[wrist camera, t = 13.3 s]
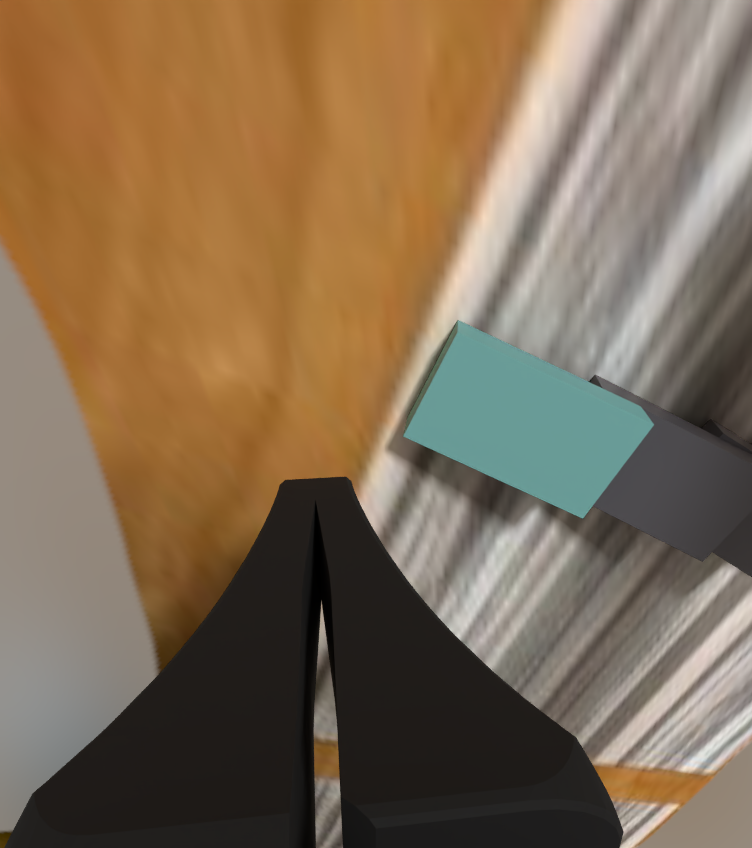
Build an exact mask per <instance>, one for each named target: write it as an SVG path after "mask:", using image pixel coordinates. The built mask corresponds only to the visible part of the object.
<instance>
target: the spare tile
mask: <svg viewBox="0 0 752 848" xmlns="http://www.w3.org/2000/svg"><path fill="white" fill-rule="evenodd" d="M653 426H654V424H653V422H652V421H651V420H650V418H649V417H648V415H647V414H646V413H645V411H644V410H643V409H642V407H641V406H639V405H637V404H634V403H632V402H630V401H628V400H626V399H624V398H622V397H620V396H618V395H615V394H613V393H611V392H609V391H607V390H605V389H603V388H601V387H598V386H596V385H594V384H592V383H590V382H588V381H586V380H584V379H582V378H579V377H577V376H575V375H573V374H571V373H569V372H567V371H565V370H563V369H560V368H558V367H556V366H554V365H552V364H550V363H548V362H546V361H543V360H541V359H539V358H537V357H535V356H533V355H531V354H529V353H527V352H524V351H522V350H520V349H518V348H516V347H514V346H512V345H510V344H508V343H505V342H503V341H501V340H499V339H497V338H495V337H493V336H491V335H488V334H486V333H484V332H482V331H480V330H478V329H476V328H474V327H472V326H469V325H467V324H465V323H463V322H461V321H459V320H458V321H457V323H456V325H455V327H454V329H453V331H452V333H451V335H450V336H449V338H448V340H447V342H446V344H445V346H444V348H443V350H442V352H441V354H440V356H439V358H438V360H437V362H436V364H435V366H434V368H433V369H432V371H431V373H430V375H429V377H428V379H427V381H426V383H425V385H424V387H423V389H422V391H421V393H420V395H419V397H418V399H417V400H416V402H415V404H414V406H413V408H412V410H411V412H410V414H409V416H408V418H407V421H406V426H405V430H404V435H403V437H406V438H408V439H410V440H412V441H414V442H417V443H419V444H421V445H423V446H425V447H427V448H430V449H432V450H434V451H436V452H438V453H441V454H443V455H445V456H447V457H449V458H451V459H454V460H456V461H458V462H460V463H462V464H465V465H467V466H469V467H471V468H473V469H475V470H478V471H480V472H482V473H484V474H486V475H489V476H491V477H493V478H495V479H497V480H499V481H502V482H504V483H506V484H508V485H510V486H513V487H515V488H517V489H519V490H521V491H523V492H526V493H528V494H530V495H532V496H534V497H537V498H539V499H541V500H543V501H545V502H548V503H550V504H552V505H554V506H556V507H558V508H561V509H563V510H565V511H567V512H569V513H572V514H574V515H576V516H578V517H580V518H582V519H583V518H584V517H585V515H586V514H587V513H588V511H589V510H590V509H591V507H592V506H593V505H594V503H595V502H596V501H597V499H598V498H599V497H600V496H601V494H602V493H603V492H604V490H605V489H606V488H607V486H608V485H609V484H610V482H611V481H612V480H613V478H614V477H615V476H616V474H617V473H618V472H619V470H620V469H621V468H622V466H623V465H624V464H625V463H626V461H627V460H628V459H629V457H630V456H631V455H632V453H633V452H634V451H635V449H636V448H637V447H638V445H639V444H640V443H641V441H642V440H643V439H644V437H645V436H646V435H647V433H648V432H649V431H650V430H651V428H652V427H653Z"/></svg>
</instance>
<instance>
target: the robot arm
mask: <svg viewBox="0 0 752 848" xmlns="http://www.w3.org/2000/svg"><path fill="white" fill-rule="evenodd" d="M321 600H322V607H323V615H324V622H325V630H326V637H327V645H328V652H329V660H330V667H331V675H332V682H333V690H334V697H335V706H336V717H337V729H338V750H339V771H340V792H341V814H342V835H343V848H619V847H620V844H621V840H622V836H623V829H622V826H621V824H620V821H619V818H618V815H617V813H616V810H615V808H614V805H613V803H612V800H611V798H610V796H609V794H608V792H607V790H606V788H605V786H604V785H603V783H602V781H601V779H600V777H599V776H598V774H597V772H596V770H595V768H594V767H593V765H592V763H591V761H590V760H589V758H588V756H587V755H586V753H585V751H584V750H583V748H582V746H581V745H580V743H579V742H578V740H577V738H576V737H575V736H573V735H572V734H571V733H569V732H568V731H566V730H565V729H564V728H562V727H561V726H560V725H558V724H557V723H556V722H554V721H553V720H552V719H550V718H549V717H548V716H546V715H545V714H544V713H542V712H541V711H540V710H539V709H537V708H536V707H535V706H534V705H532V704H531V703H530V702H528V701H527V700H526V699H525V698H523V697H522V696H521V695H520V694H519V693H517V692H516V691H515V690H514V689H513V688H512V687H510V686H509V685H508V684H507V683H506V682H505V681H503V680H502V679H501V678H500V677H499V676H497V675H496V674H495V673H494V672H493V671H492V670H491V669H490V668H489V667H488V666H487V665H485V664H484V663H483V662H482V661H481V660H480V659H479V658H478V657H477V656H476V655H475V654H474V653H473V652H472V651H471V650H470V649H469V648H468V647H467V646H466V645H465V644H463V643H462V642H461V641H460V640H459V639H458V638H457V637H456V636H455V635H454V634H453V633H452V632H451V631H450V630H449V628H448V627H447V626H446V625H445V624H444V623H443V622H442V621H441V620H440V619H439V618H438V617H437V615H436V614H435V613H434V612H433V611H432V610H431V609H430V607H429V606H428V605H427V604H426V603H425V602H424V600H423V599H422V598H421V597H420V596H419V594H418V593H417V592H416V591H415V589H414V588H413V587H412V586H411V584H410V583H409V582H408V580H407V579H406V578H405V576H404V575H403V574H402V572H401V571H400V569H399V568H398V567H397V565H396V564H395V562H394V561H393V560H392V558H391V557H390V555H389V554H388V552H387V551H386V549H385V547H384V546H383V544H382V543H381V541H380V539H379V538H378V536H377V534H376V533H375V531H374V530H373V528H372V526H371V524H370V523H369V521H368V519H367V517H366V515H365V513H364V511H363V509H362V507H361V505H360V503H359V501H358V499H357V496H356V494H355V491H354V489H353V486H352V482H351V481H350V480H349V479H348V478H347V477H332V478H313V479H295V480H285V481H284V482H283V483H282V484H280V486H279V490H278V493H277V496H276V498H275V501H274V504H273V506H272V508H271V511H270V513H269V515H268V517H267V519H266V521H265V523H264V525H263V527H262V529H261V531H260V533H259V535H258V537H257V539H256V541H255V542H254V544H253V546H252V548H251V550H250V552H249V553H248V555H247V557H246V559H245V560H244V562H243V563H242V565H241V567H240V568H239V570H238V571H237V573H236V575H235V576H234V578H233V579H232V581H231V583H230V584H229V586H228V587H227V589H226V590H225V592H224V593H223V595H222V596H221V598H220V599H219V600H218V602H217V603H216V605H215V606H214V607H213V609H212V610H211V612H210V613H209V614H208V616H207V617H206V618H205V619H204V621H203V622H202V623H201V625H200V626H199V627H198V629H197V630H196V631H195V632H194V634H193V635H192V636H191V637H190V638H189V640H188V641H187V642H186V643H185V644H184V646H183V647H182V648H181V649H180V650H179V652H178V653H177V654H176V655H175V656H174V658H173V659H172V660H171V661H170V662H169V663H168V665H167V666H166V667H165V668H164V669H163V670H162V671H161V672H160V674H159V675H158V676H157V677H156V678H155V679H154V680H153V681H152V682H151V683H150V684H149V685H148V686H147V687H146V688H145V689H144V690H143V691H142V692H141V694H139V695H138V696H137V697H136V698H135V699H134V700H133V702H132V703H131V704H130V705H129V706H128V707H127V708H126V709H125V710H124V711H123V712H122V713H121V714H120V715H119V716H118V717H117V718H116V719H115V720H114V721H113V722H112V723H111V724H110V725H109V726H108V727H107V728H106V729H105V730H104V731H102V733H100V734H99V735H98V736H97V737H96V738H95V739H94V740H93V741H92V742H90V743H89V744H88V745H87V746H86V747H85V748H84V749H83V750H81V751H80V752H79V753H78V754H77V755H76V756H75V757H74V758H73V759H71V760H70V761H69V762H68V763H67V764H66V765H65V766H64V767H62V768H61V769H60V770H59V771H58V772H57V773H56V774H55V775H54V776H52V777H51V778H50V779H49V780H48V781H47V782H46V783H45V784H43V785H42V786H41V787H40V788H38V789H37V790H36V791H35V792H34V793H33V794H32V796H31V798H30V799H29V801H28V803H27V805H26V807H25V809H24V811H23V813H22V815H21V817H20V818H19V820H18V822H17V824H16V826H15V828H14V830H13V832H12V834H11V836H10V838H9V840H8V842H7V844H6V846H5V848H316V834H315V784H314V700H315V686H316V671H317V657H318V642H319V628H320V613H321Z"/></svg>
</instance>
